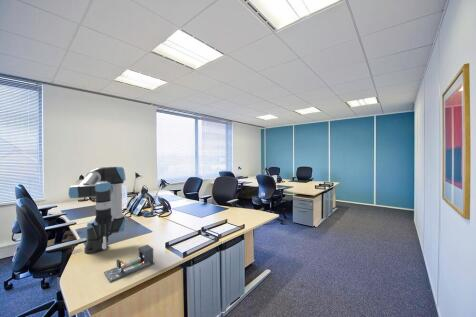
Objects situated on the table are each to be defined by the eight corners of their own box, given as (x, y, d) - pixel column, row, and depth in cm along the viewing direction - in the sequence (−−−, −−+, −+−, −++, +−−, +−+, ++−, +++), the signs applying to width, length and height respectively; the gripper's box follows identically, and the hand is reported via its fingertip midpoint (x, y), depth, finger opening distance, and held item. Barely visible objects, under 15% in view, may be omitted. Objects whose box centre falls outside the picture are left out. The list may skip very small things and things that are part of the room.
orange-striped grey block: (115, 268, 125) (115, 258, 125) (137, 260, 135) (137, 251, 135) (120, 274, 119) (119, 263, 119) (142, 265, 129) (142, 255, 129)
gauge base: (103, 273, 123) (103, 257, 123) (146, 257, 142) (146, 243, 142) (109, 282, 114) (109, 265, 114) (154, 264, 133) (154, 249, 133)
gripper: (91, 212, 110) (92, 254, 110) (117, 207, 119) (118, 246, 119) (88, 209, 115) (89, 250, 115) (114, 205, 124) (114, 242, 125)
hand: (104, 248), depth 117 cm, fingers closed
